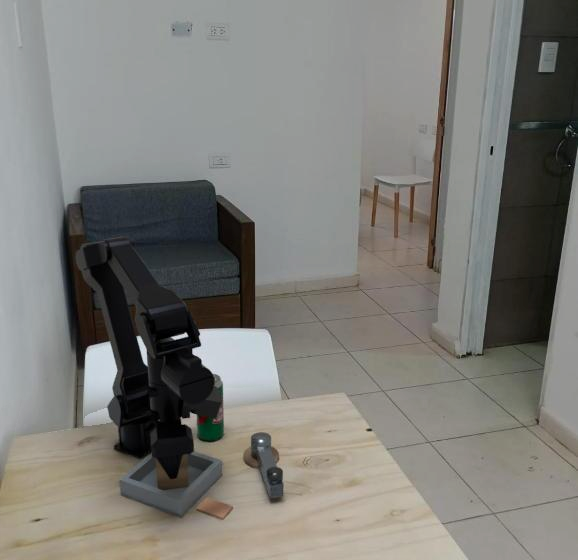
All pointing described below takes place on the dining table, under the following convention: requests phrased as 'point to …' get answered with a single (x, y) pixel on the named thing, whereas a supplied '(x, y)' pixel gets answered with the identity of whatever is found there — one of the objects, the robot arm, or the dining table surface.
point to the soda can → (212, 427)
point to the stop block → (168, 483)
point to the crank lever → (267, 464)
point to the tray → (174, 501)
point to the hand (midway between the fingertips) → (171, 461)
